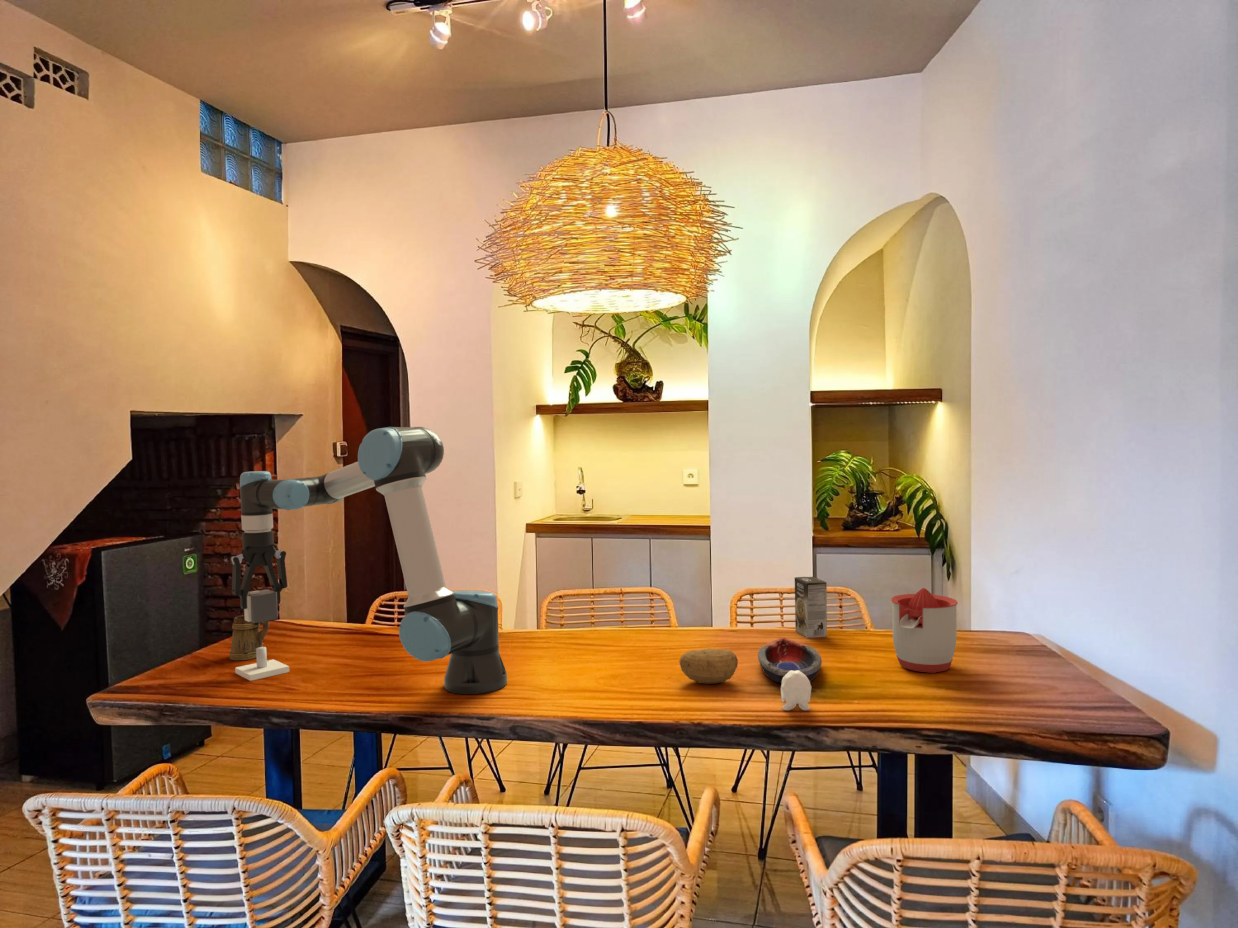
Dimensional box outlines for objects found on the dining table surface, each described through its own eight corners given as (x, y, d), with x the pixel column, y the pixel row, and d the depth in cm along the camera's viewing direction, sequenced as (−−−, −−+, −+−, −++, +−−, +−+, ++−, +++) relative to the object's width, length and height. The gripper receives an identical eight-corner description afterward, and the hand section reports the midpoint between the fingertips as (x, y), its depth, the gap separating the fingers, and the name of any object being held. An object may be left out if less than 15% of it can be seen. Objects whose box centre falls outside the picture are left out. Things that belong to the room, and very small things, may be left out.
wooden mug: (269, 660, 228) (266, 596, 227) (222, 660, 229) (219, 596, 228) (285, 651, 237) (282, 589, 236) (240, 651, 238) (237, 589, 237)
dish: (758, 689, 194) (758, 668, 193) (757, 653, 224) (757, 635, 224) (826, 691, 191) (826, 670, 191) (816, 654, 221) (816, 636, 221)
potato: (680, 676, 205) (679, 644, 204) (737, 676, 203) (737, 644, 203) (678, 688, 195) (677, 655, 195) (738, 689, 193) (737, 656, 193)
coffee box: (794, 630, 246) (793, 577, 245) (814, 629, 247) (814, 575, 246) (806, 638, 237) (806, 582, 236) (827, 636, 238) (827, 581, 237)
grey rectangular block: (268, 615, 221) (267, 587, 220) (277, 618, 216) (276, 590, 216) (245, 619, 216) (244, 590, 216) (254, 623, 212) (252, 593, 212)
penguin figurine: (782, 673, 176) (775, 662, 188) (783, 714, 176) (776, 700, 188) (812, 673, 176) (803, 662, 188) (813, 713, 175) (804, 700, 187)
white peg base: (289, 671, 217) (288, 647, 216) (250, 680, 210) (249, 655, 209) (273, 664, 224) (272, 640, 224) (235, 673, 217) (234, 648, 217)
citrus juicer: (876, 669, 206) (876, 590, 205) (908, 654, 218) (908, 579, 217) (938, 682, 195) (938, 598, 194) (968, 665, 207) (967, 586, 206)
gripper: (287, 525, 224) (291, 609, 226) (214, 533, 211) (218, 622, 212) (299, 527, 219) (303, 614, 220) (224, 535, 206) (228, 627, 207)
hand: (261, 618), depth 216 cm, fingers closed on grey rectangular block, 6 cm apart
